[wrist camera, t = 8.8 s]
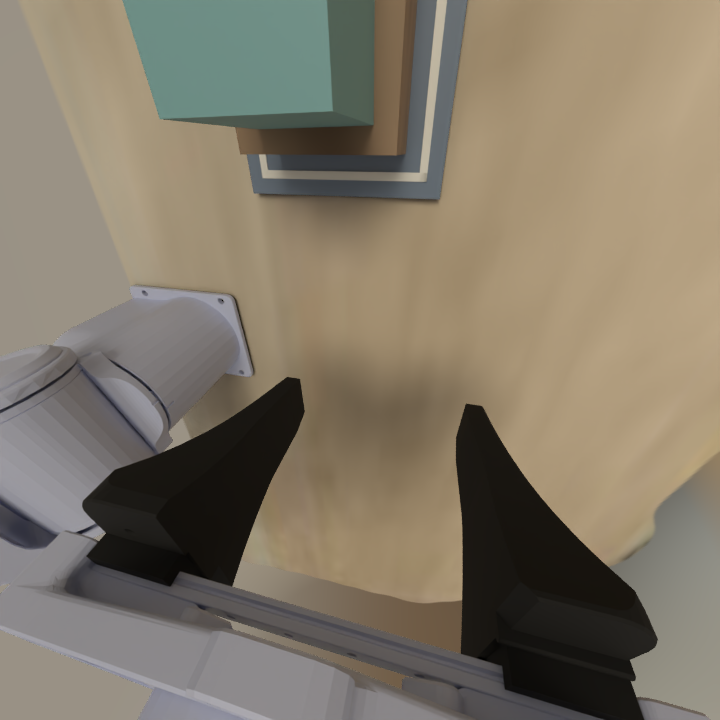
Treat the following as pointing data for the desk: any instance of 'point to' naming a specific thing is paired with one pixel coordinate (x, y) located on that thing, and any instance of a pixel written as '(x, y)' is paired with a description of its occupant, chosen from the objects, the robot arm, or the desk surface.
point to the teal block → (258, 61)
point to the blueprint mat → (424, 137)
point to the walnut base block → (389, 99)
